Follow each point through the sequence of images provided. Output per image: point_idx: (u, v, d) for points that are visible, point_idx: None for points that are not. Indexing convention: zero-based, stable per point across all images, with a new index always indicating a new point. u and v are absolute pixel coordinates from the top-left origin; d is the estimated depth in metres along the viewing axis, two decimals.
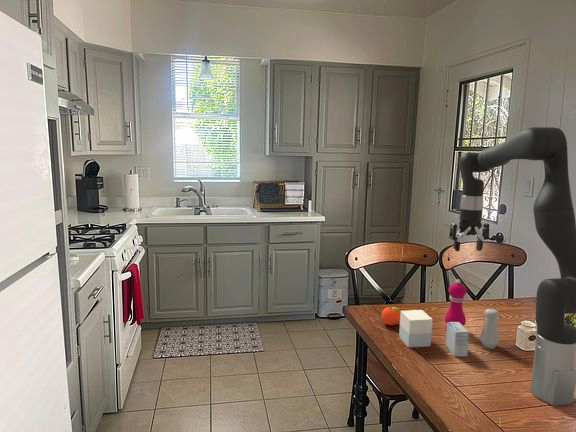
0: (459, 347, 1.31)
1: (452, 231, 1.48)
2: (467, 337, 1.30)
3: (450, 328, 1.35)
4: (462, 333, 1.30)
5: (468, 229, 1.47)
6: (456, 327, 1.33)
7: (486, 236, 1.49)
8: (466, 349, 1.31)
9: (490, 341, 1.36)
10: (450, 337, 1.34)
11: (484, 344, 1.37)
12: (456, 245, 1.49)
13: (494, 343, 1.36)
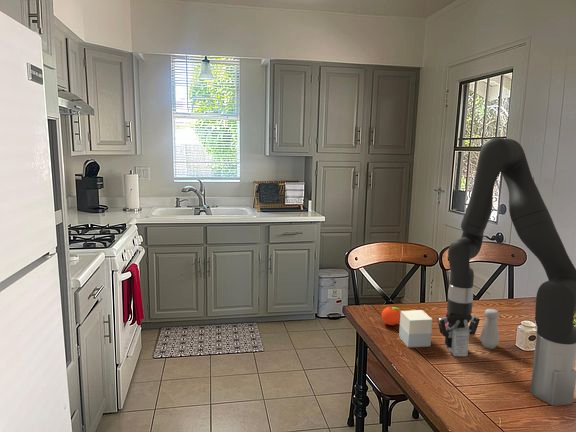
0: (459, 347, 1.31)
1: (441, 327, 1.33)
2: (467, 337, 1.30)
3: None
4: (462, 333, 1.30)
5: (457, 323, 1.31)
6: None
7: (472, 331, 1.34)
8: (466, 349, 1.31)
9: (490, 341, 1.36)
10: None
11: (484, 344, 1.37)
12: (448, 341, 1.34)
13: (494, 343, 1.36)
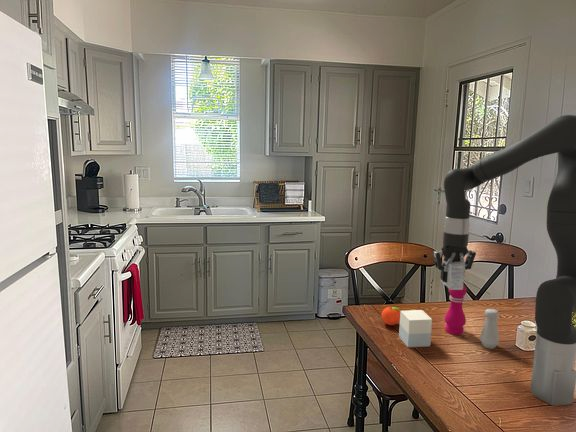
0: (455, 280, 1.29)
1: (436, 260, 1.30)
2: (463, 270, 1.28)
3: None
4: (458, 265, 1.28)
5: (452, 256, 1.29)
6: None
7: (468, 265, 1.31)
8: (462, 282, 1.29)
9: (490, 341, 1.36)
10: None
11: (484, 344, 1.37)
12: (443, 275, 1.32)
13: (494, 343, 1.36)
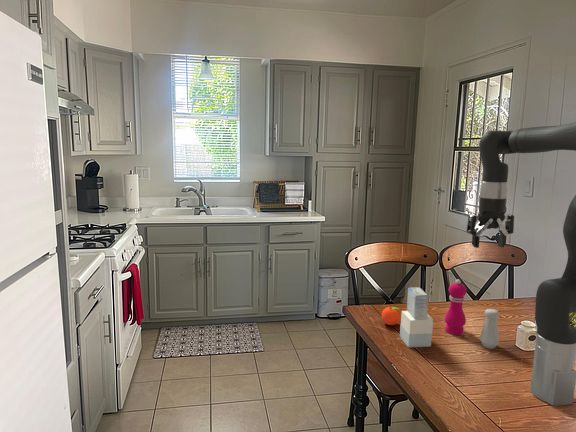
0: (419, 310, 1.36)
1: (470, 224, 1.25)
2: (426, 300, 1.35)
3: (411, 293, 1.39)
4: (421, 296, 1.35)
5: (489, 221, 1.25)
6: (416, 292, 1.38)
7: (510, 230, 1.27)
8: (425, 312, 1.36)
9: (490, 341, 1.36)
10: (411, 302, 1.39)
11: (484, 344, 1.37)
12: (475, 240, 1.26)
13: (494, 343, 1.36)
